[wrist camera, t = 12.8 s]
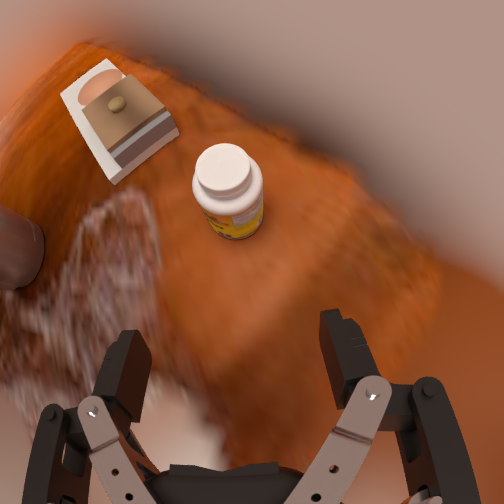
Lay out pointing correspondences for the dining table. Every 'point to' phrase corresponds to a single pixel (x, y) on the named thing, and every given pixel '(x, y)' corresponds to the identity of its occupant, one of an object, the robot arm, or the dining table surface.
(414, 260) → the dining table surface
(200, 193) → the supplement bottle
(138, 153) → the board
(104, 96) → the cover
